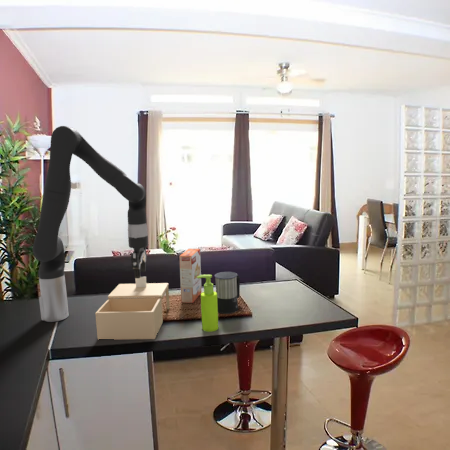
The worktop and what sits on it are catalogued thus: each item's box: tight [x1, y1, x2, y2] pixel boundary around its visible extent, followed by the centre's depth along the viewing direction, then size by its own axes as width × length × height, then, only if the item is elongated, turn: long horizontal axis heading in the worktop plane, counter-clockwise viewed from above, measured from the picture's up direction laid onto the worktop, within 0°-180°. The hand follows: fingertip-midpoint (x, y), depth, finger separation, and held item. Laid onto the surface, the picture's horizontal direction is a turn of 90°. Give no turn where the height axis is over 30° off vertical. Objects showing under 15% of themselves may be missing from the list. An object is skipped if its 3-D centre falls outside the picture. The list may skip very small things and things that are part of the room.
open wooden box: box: [95, 286, 170, 341], centre depth 149 cm, size 20×28×10 cm
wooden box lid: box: [107, 276, 169, 298], centre depth 155 cm, size 20×14×5 cm
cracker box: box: [179, 248, 202, 304], centre depth 173 cm, size 14×6×21 cm, turn 168°
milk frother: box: [214, 271, 241, 315], centre depth 162 cm, size 14×16×15 cm
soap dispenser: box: [197, 274, 219, 333], centre depth 141 cm, size 6×7×20 cm
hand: (140, 274), depth 157 cm, fingers open, 8 cm apart
